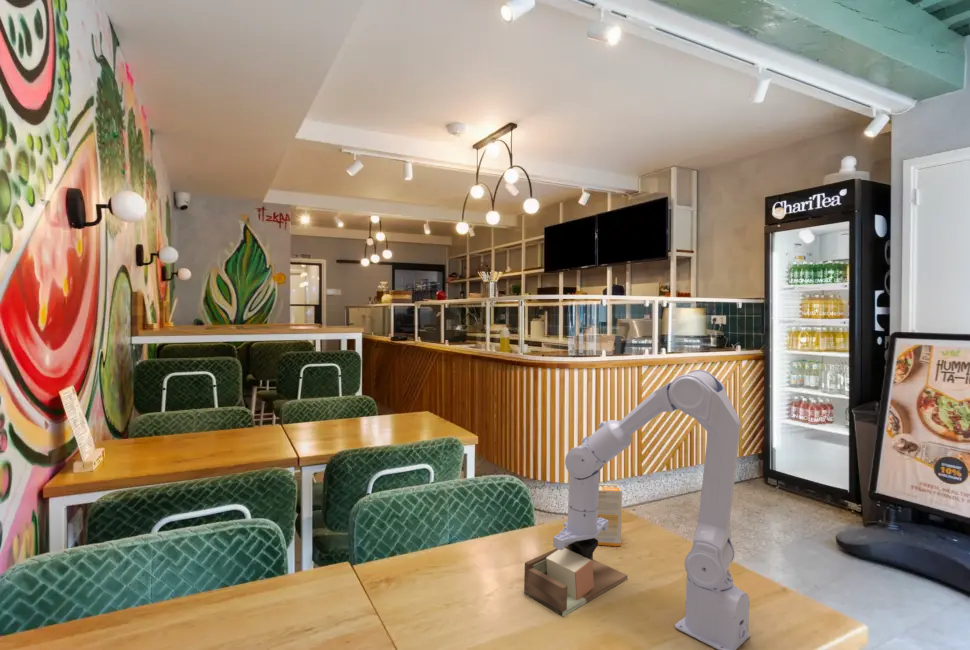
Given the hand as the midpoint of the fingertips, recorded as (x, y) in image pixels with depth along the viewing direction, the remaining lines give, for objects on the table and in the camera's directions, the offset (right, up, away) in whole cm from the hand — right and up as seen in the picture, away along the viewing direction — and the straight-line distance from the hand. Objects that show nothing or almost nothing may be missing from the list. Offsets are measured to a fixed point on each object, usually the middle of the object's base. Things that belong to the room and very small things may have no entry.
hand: (580, 574), depth 102 cm
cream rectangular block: (-2, -1, -2) cm, 3 cm away
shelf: (-1, -2, 0) cm, 3 cm away
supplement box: (+9, -2, +20) cm, 22 cm away
